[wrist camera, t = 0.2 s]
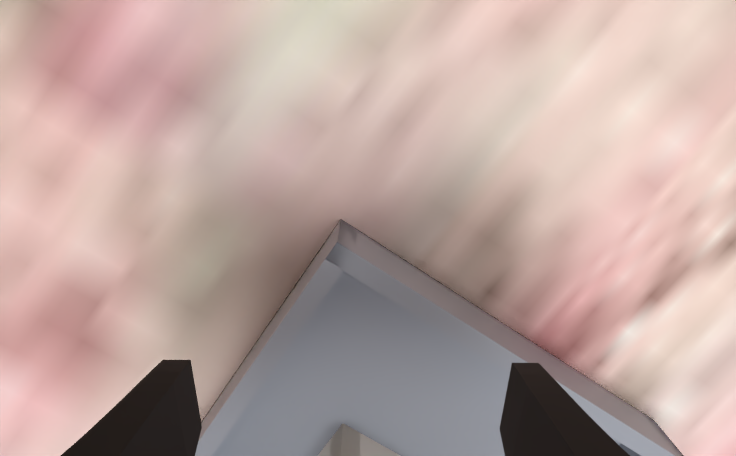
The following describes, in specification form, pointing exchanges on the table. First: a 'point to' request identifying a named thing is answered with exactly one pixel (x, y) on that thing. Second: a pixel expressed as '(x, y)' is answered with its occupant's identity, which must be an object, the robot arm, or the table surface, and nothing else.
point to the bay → (389, 370)
